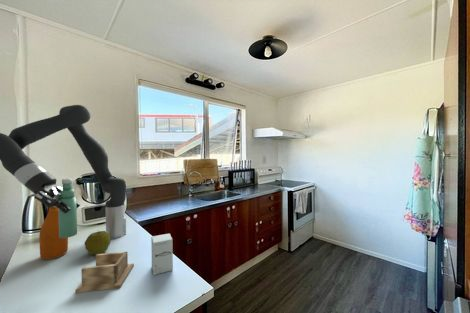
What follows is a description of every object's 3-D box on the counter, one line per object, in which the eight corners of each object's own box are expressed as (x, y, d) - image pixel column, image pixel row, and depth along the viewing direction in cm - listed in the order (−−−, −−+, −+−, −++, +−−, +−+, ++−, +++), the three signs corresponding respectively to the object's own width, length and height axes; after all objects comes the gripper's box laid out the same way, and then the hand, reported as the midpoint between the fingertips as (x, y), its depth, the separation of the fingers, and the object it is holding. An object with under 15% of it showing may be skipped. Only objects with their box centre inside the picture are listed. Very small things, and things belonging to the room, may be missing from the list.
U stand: (133, 265, 83) (133, 249, 83) (120, 287, 69) (120, 267, 69) (96, 269, 81) (96, 252, 81) (75, 292, 67) (74, 272, 67)
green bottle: (74, 231, 78) (73, 178, 78) (79, 234, 76) (78, 178, 75) (56, 236, 74) (55, 179, 74) (61, 239, 71) (60, 180, 71)
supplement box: (153, 276, 76) (152, 242, 76) (151, 266, 82) (151, 236, 82) (173, 270, 79) (172, 238, 79) (170, 261, 86) (169, 232, 86)
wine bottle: (51, 261, 87) (50, 193, 87) (33, 259, 89) (32, 192, 89) (73, 251, 97) (72, 189, 96) (57, 249, 99) (56, 188, 98)
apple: (107, 246, 102) (107, 224, 102) (112, 252, 95) (112, 229, 95) (83, 253, 95) (83, 230, 95) (86, 260, 88) (86, 235, 88)
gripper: (27, 172, 66) (68, 206, 68) (58, 169, 80) (91, 197, 83) (8, 189, 65) (51, 223, 68) (43, 183, 80) (77, 211, 82)
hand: (73, 209), depth 75 cm, fingers closed on green bottle, 5 cm apart
